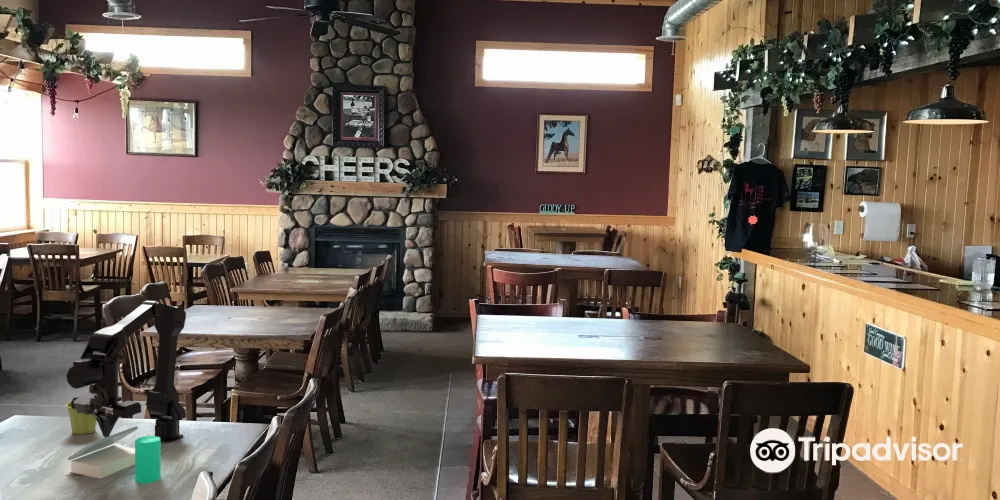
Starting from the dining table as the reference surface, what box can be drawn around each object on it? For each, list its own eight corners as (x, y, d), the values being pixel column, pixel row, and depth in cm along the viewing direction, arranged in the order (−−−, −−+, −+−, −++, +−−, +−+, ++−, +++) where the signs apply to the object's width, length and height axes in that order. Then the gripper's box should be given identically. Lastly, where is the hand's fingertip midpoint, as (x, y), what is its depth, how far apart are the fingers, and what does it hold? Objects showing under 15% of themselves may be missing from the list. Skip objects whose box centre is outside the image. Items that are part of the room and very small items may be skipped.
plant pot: (108, 429, 234) (108, 401, 234) (82, 438, 226) (82, 409, 225) (85, 425, 237) (84, 397, 237) (58, 433, 229) (58, 405, 228)
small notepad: (114, 455, 213) (114, 444, 213) (142, 461, 210) (142, 450, 210) (71, 472, 200) (71, 461, 200) (100, 478, 197) (100, 467, 197)
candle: (150, 484, 194) (150, 438, 193) (129, 481, 196) (129, 435, 195) (165, 475, 200) (165, 431, 199) (145, 473, 201) (145, 428, 200)
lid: (112, 444, 213) (111, 441, 213) (138, 428, 210) (137, 426, 210) (68, 460, 200) (67, 458, 200) (95, 444, 197) (94, 441, 197)
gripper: (52, 381, 199) (53, 440, 200) (108, 391, 193) (108, 451, 194) (89, 372, 209) (89, 428, 211) (142, 381, 203) (142, 438, 204)
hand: (106, 436), depth 205 cm, fingers closed
